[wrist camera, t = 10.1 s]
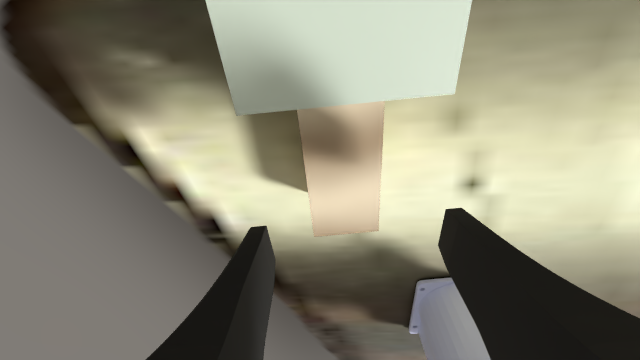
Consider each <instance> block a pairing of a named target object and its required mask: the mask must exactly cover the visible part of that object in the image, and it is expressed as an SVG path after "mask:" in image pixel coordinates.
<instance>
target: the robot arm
mask: <svg viewBox="0 0 640 360" xmlns="http://www.w3.org/2000/svg"><path fill="white" fill-rule="evenodd" d="M438 246H439V249H440V252H441V255H442V257H443V260H444V263H445V265H446V268H447V270H448V272H449V274H450V276H451V278H440V279H429V280H420V281H418V282H417V285H416V290H415V296H414V302H413V307H412V313H411V319H410V324H409V332H410V333H412V334H414V333H419V336H420V339H421V342H422V345H423V348H424V351H425V354H426V357H427V360H640V318H638V317H636V316H633V315H631V314H629V313H627V312H625V311H623V310H621V309H619V308H617V307H615V306H613V305H611V304H609V303H607V302H605V301H603V300H601V299H600V298H598V297H596V296H594V295H592V294H590V293H588V292H586V291H584V290H583V289H581V288H579V287H577V286H575V285H574V284H572V283H570V282H569V281H567V280H565V279H563V278H562V277H560V276H558V275H556V274H555V273H553V272H552V271H550V270H548V269H547V268H545V267H543V266H542V265H540V264H539V263H537V262H536V261H534V260H533V259H531V258H530V257H528V256H527V255H525V254H524V253H522V252H521V251H519V250H518V249H516V248H515V247H514V246H512V245H511V244H509V243H508V242H507V241H505V240H504V239H502V238H501V237H500V236H498V235H497V234H496V233H494V232H493V231H492V230H490V229H489V228H488V227H486V226H485V225H484V224H482V223H481V222H480V221H478V220H477V219H476V218H474V217H473V216H472V215H470V214H469V213H468V212H466V211H465V210H464V209H462V208H454V209H446V211H445V216H444V220H443V225H442V229H441V234H440V239H439V243H438ZM274 279H275V256H274V253H273V249H272V245H271V241H270V238H269V234H268V230H267V226H258V227H251V228H250V229H249V231H248V232H247V234H246V236H245V238H244V239H243V241H242V243H241V244H240V246H239V247H238V249H237V251H236V252H235V254H234V255H233V257H232V258H231V260H230V261H229V263H228V265H227V266H226V267H225V269H224V270H223V272H222V273H221V275H220V276H219V277H218V279H217V280H216V282H215V283H214V284H213V286H212V287H211V288H210V290H209V291H208V292H207V294H206V295H205V296H204V297H203V299H202V300H201V301H200V302H199V304H198V305H197V306H196V307H195V308H194V310H193V311H192V312H191V313H190V314H189V315H188V317H187V318H186V319H185V320H184V321H183V322H182V323H181V324H180V326H179V327H178V328H177V329H176V330H175V331H174V332H173V333H172V334H171V335H170V336H169V337H168V338H167V339H166V340H165V342H163V344H161V345H160V346H159V347H158V349H156V350H155V351H154V352H153V353H152V354H151V355H150V356H149V357H148V358H147V359H146V360H263V356H264V346H265V338H266V332H267V326H268V320H269V313H270V307H271V301H272V295H273V289H274Z"/></svg>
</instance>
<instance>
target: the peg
mask: <svg viewBox="0 0 640 360" xmlns="http://www.w3.org/2000/svg"><path fill="white" fill-rule="evenodd" d="M384 104H385V101H379V102H369V103H359V104H349V105H339V106H329V107H319V108H309V109H299V110H297V114H298V122H299V129H300V136H301V144H302V151H303V158H304V166H305V173H306V180H307V188H308V195H309V202H310V209H311V217H312V224H313V231H314V237H316V236H328V235H339V234H350V233H361V232H372V231H378V230H379V209H380V188H381V167H382V146H383V125H384Z"/></svg>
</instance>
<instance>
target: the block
mask: <svg viewBox="0 0 640 360" xmlns="http://www.w3.org/2000/svg"><path fill="white" fill-rule="evenodd" d="M205 1H206V4H207V8H208V12H209V15H210V19H211V23H212V27H213V30H214V34H215V38H216V41H217V45H218V49H219V53H220V56H221V60H222V64H223V67H224V71H225V75H226V79H227V82H228V86H229V90H230V93H231V97H232V101H233V105H234V108H235V112H236V116H239V115H249V114H259V113H269V112H279V111H289V110H299V109H309V108H319V107H329V106H339V105H349V104H359V103H369V102H379V101H389V100H399V99H409V98H419V97H429V96H439V95H449V94H455V89H456V83H457V78H458V73H459V67H460V62H461V57H462V51H463V46H464V41H465V35H466V30H467V24H468V19H469V14H470V8H471V3H472V0H205Z"/></svg>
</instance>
